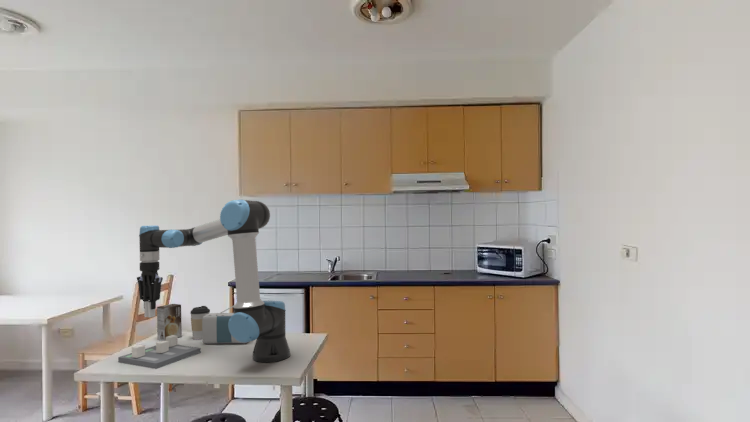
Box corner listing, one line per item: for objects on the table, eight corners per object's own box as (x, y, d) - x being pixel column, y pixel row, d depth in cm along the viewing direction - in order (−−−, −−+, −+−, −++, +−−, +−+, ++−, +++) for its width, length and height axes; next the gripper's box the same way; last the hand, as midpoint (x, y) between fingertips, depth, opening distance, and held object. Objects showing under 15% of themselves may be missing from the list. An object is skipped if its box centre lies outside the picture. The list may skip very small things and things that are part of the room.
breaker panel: (200, 352, 186) (200, 347, 186) (156, 368, 165) (156, 363, 166) (164, 347, 195) (164, 342, 195) (118, 362, 174) (118, 356, 174)
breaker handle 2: (177, 344, 190) (177, 335, 190) (170, 346, 186) (170, 337, 186) (172, 344, 191) (172, 335, 191) (165, 346, 188) (165, 337, 188)
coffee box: (174, 335, 216) (174, 303, 216) (182, 336, 212) (181, 304, 213) (156, 339, 208) (156, 306, 208) (164, 341, 204) (164, 307, 205)
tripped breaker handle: (168, 350, 181) (168, 341, 181) (161, 353, 177) (161, 343, 178) (163, 350, 182) (163, 340, 182) (156, 352, 179) (156, 342, 179)
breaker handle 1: (145, 355, 175) (145, 345, 175) (137, 357, 172) (136, 347, 172) (140, 354, 176) (140, 344, 176) (131, 357, 173) (131, 347, 173)
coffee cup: (203, 340, 204) (203, 309, 205) (186, 340, 206) (186, 308, 207) (214, 335, 213) (213, 305, 214) (197, 335, 215) (197, 305, 215)
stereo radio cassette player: (201, 345, 197) (201, 301, 198) (209, 340, 205) (208, 298, 206) (246, 344, 196) (246, 301, 197) (252, 339, 204) (251, 297, 205)
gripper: (129, 261, 183) (129, 317, 183) (154, 262, 177) (154, 319, 177) (145, 260, 190) (145, 313, 190) (169, 261, 184) (169, 316, 183)
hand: (149, 316), depth 183 cm, fingers closed
